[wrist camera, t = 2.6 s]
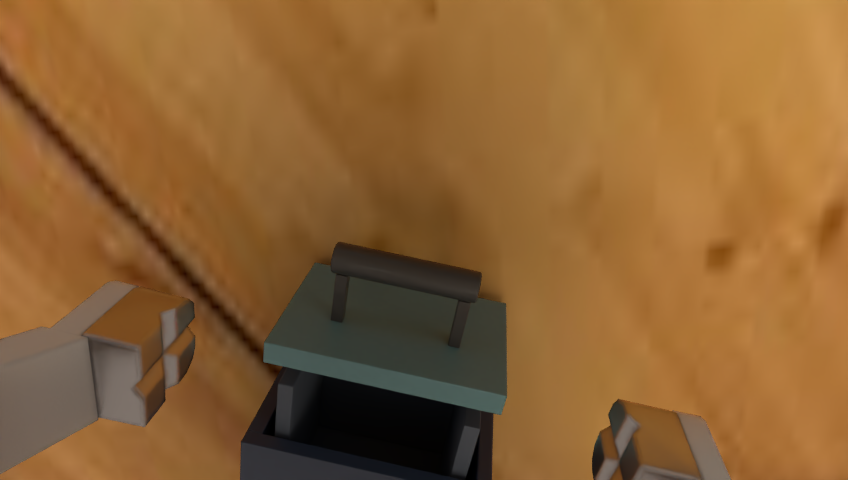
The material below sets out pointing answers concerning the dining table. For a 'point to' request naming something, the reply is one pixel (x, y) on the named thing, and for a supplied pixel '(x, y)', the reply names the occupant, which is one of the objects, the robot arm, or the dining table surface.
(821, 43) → the dining table surface
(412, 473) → the cabinet
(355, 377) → the drawer
